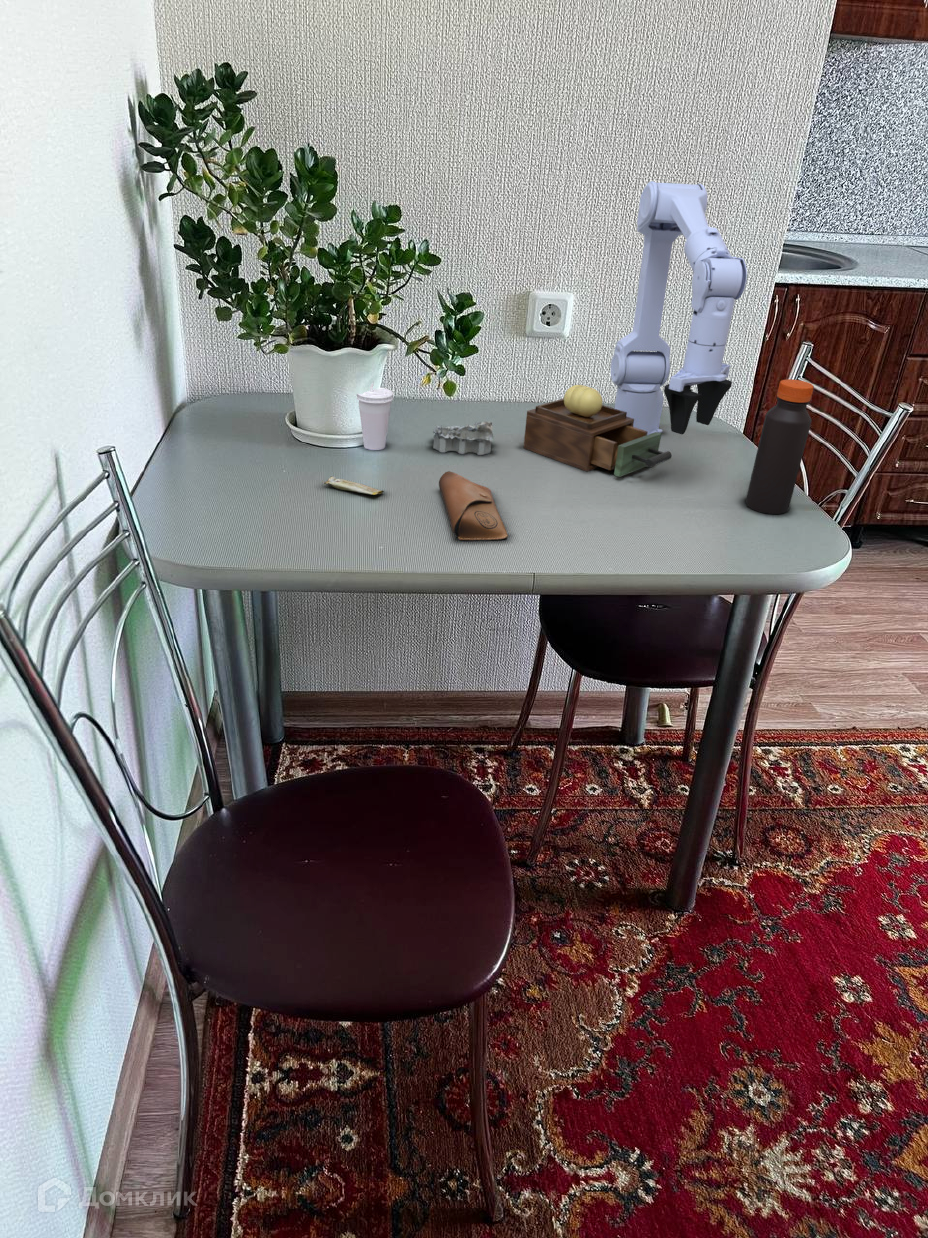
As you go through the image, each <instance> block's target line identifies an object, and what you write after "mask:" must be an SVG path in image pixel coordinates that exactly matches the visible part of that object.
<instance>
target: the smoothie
mask: <svg viewBox="0 0 928 1238" xmlns="http://www.w3.org/2000/svg"><path fill="white" fill-rule="evenodd" d="M369 387H370V391H367V392H364V393H363V394H357V393H356V396H357V398H356V400H359V402H358V409H359V418H360V424H361V432H362V441H363V447H364V449H367V450H369V451H381V450H384V449H385V448H386V443H387V436H388V435H387V434H388V428H389V420H390V414H391V407H392V401H393V400H394V391H392V390H391V389H388V388H385V387H379V388H380V389H377V390H376V389H374V390H373V387H374V382H373V383H372V384H371V386H370V385H369Z"/></svg>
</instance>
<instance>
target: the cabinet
mask: <svg viewBox="0 0 928 1238" xmlns="http://www.w3.org/2000/svg"><path fill="white" fill-rule="evenodd" d="M535 409H536V408H533V409H532V408H531V409H529V410H527V411H526V417H525V418H526V419H525V429H524V437H523V438H524V440H523V449H525V450H528V451H530V452H532V453H535V454H538V455H541V456H543V457H547V458H550V459H552V460H553V461H554V460H555V461H557V462H560V463H562V464H566V465H568V466H570V467H573V468H576V469H578V470H582V471H585V472H590V471H592V470H595V469H598V468H600V467H599V466H597V465H594V464H591V456H592V448H593V441H594V436H595V435H598V434H601V433H604V432H607V431H610V430H613V429H616V428H619V427H622V426H625V425H629V426H632V427H633V424H634V419H633V418H630V417H627V416H626V418H624V419H621V420H618V421H615V422H612V423H609V424H606V425H603V426H600V427H597V428H594V429H591V430H588V429H586V428H583V427H580V426H577V425H574V424H571V423H568V422H565V421H562V420H559V419H556V418H553V417H550V416H547V415H544V414H541V413H538V412H535ZM549 410H552V411H555V412H558V413H561V414H564V415H567V416H570V417H573V418H576V419H579V420H583V421H586V422H589V423H591V422H594V421H597V420H600V419H603V418H606V417H609V416H612V414H609V413H606V412H603V411H599V412H598V413H597V414H596V415H594V416H592V417H584V416H581V415H577V414H574V413H572V412H570V411H569V410H568V409H567V408H566V407H565V405H562V406H558V407H555V408H551V409H549Z"/></svg>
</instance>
